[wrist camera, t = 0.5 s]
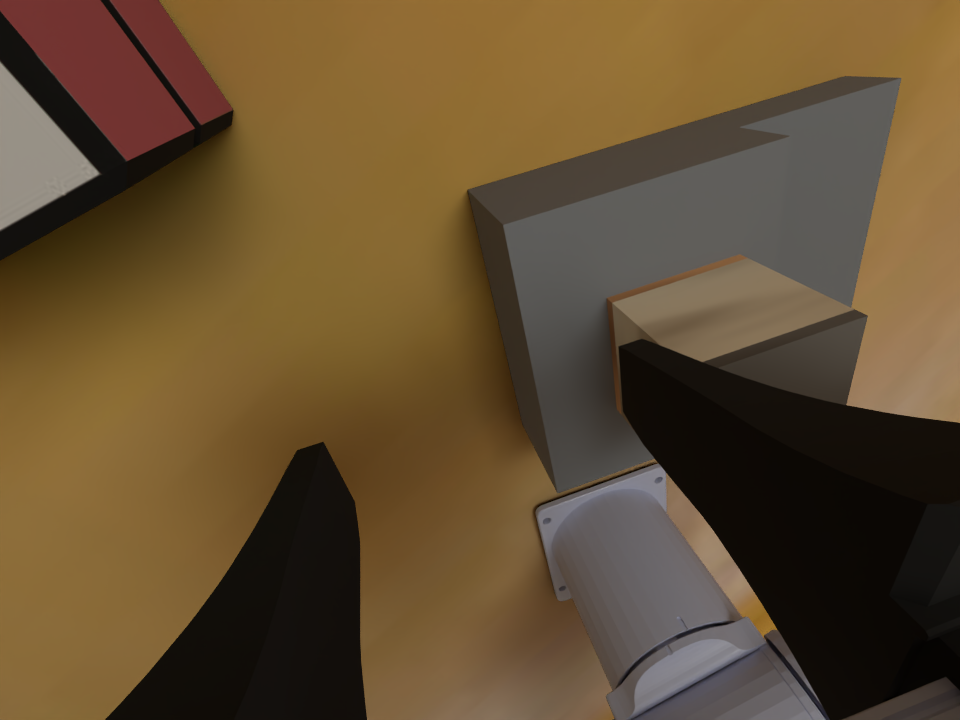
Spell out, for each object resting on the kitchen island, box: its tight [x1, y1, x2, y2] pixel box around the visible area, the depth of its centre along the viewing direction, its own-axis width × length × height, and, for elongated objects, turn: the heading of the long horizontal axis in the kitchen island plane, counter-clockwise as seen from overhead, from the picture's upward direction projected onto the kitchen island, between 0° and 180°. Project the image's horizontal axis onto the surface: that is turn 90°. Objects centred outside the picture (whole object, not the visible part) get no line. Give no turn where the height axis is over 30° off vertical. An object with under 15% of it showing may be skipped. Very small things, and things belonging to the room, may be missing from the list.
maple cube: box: [607, 254, 868, 430], centre depth 16 cm, size 5×5×5 cm
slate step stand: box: [468, 76, 901, 493], centre depth 21 cm, size 12×16×5 cm
